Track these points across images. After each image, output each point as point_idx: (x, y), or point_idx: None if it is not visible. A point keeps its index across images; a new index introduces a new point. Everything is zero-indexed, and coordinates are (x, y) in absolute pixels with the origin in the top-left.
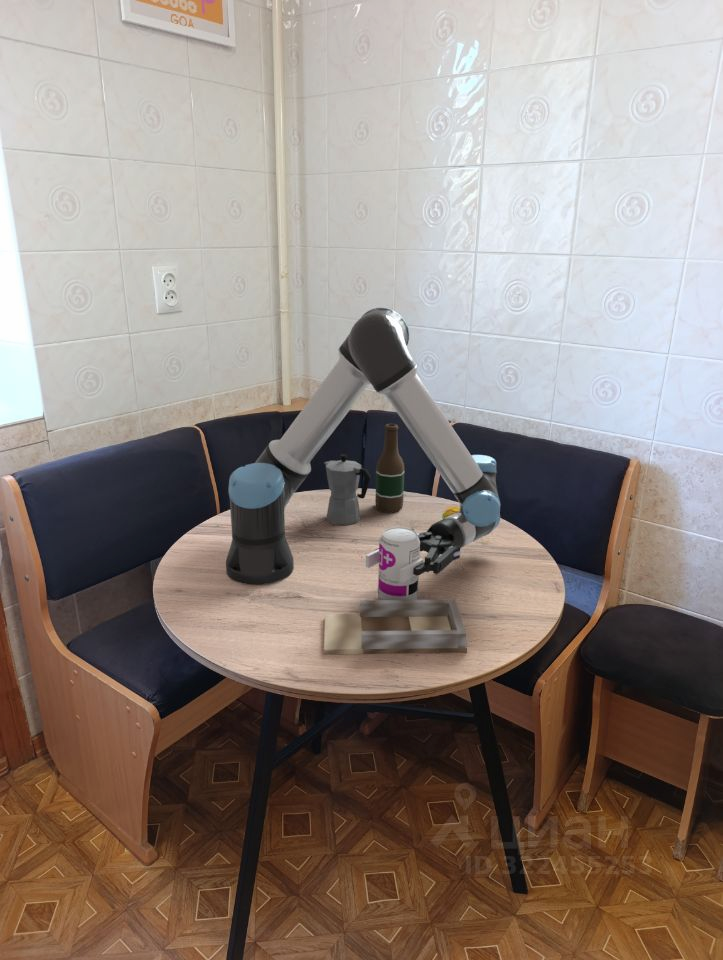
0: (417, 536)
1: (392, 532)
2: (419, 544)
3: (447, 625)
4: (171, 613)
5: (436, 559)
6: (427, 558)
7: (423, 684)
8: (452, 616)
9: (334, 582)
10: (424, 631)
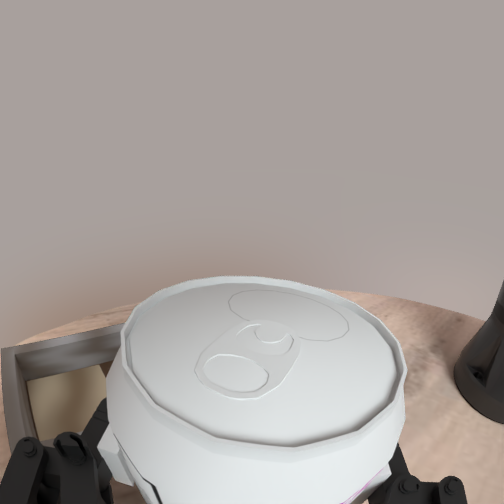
0: (130, 398)
1: (337, 339)
2: (107, 402)
3: (42, 429)
4: (416, 303)
5: (34, 474)
6: (68, 433)
7: (74, 321)
8: (20, 401)
9: (422, 462)
10: (74, 339)
